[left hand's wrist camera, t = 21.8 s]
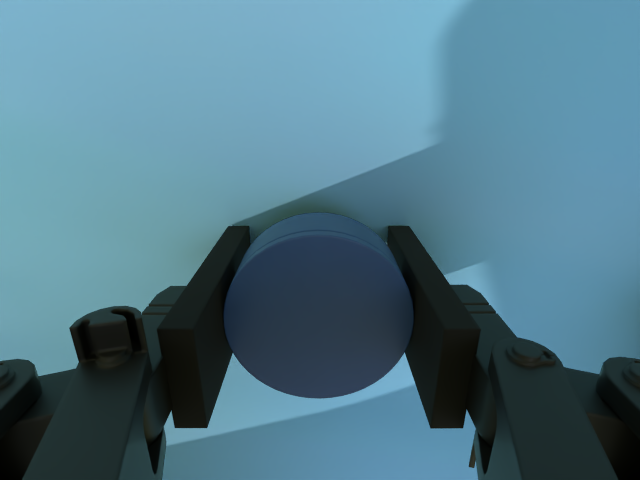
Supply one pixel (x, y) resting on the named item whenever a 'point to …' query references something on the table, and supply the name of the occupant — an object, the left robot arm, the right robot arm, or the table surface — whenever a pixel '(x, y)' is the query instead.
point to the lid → (318, 307)
